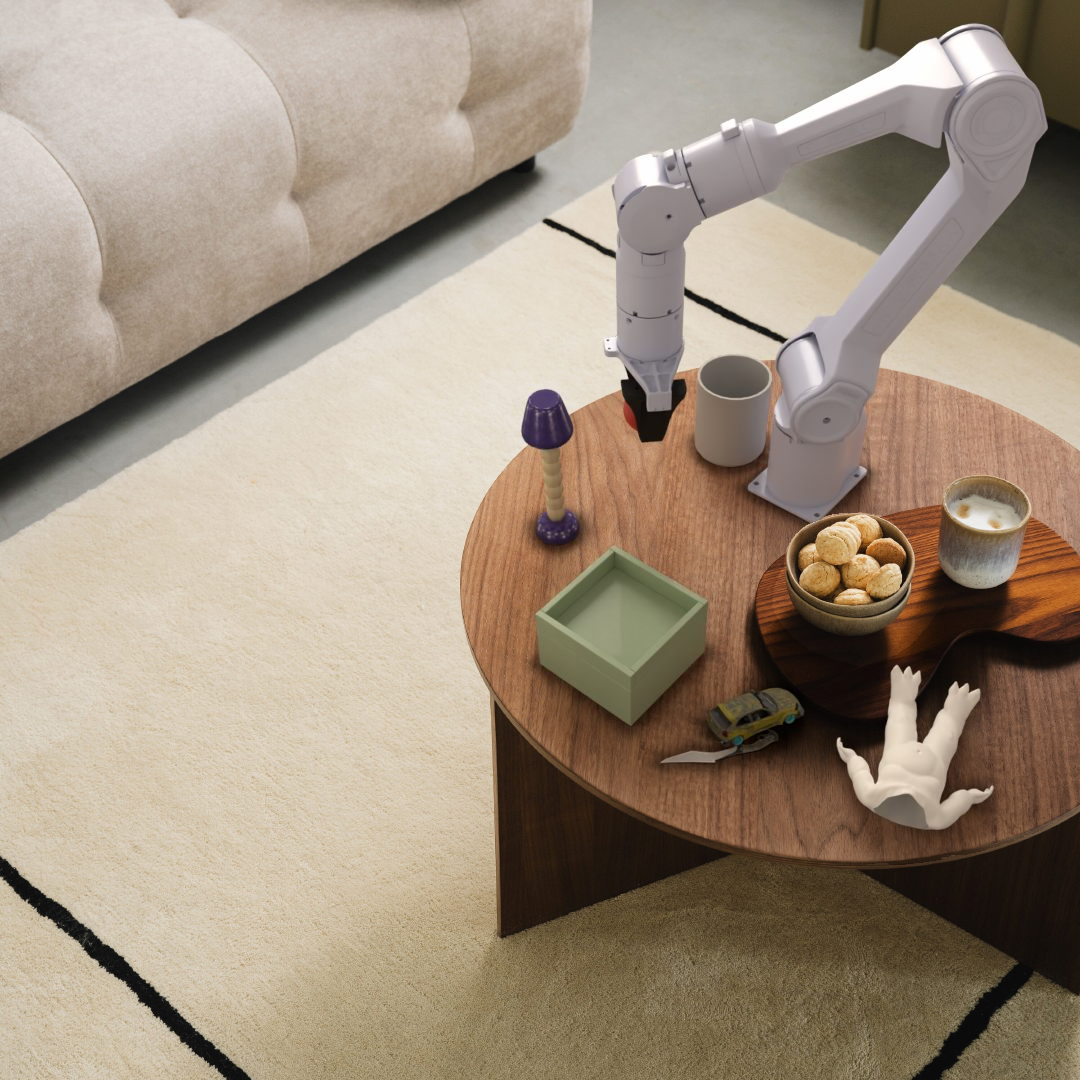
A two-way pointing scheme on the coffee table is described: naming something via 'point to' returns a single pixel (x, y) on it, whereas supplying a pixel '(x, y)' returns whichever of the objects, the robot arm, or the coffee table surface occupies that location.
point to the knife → (711, 757)
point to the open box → (622, 633)
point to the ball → (629, 416)
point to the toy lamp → (550, 462)
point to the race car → (752, 714)
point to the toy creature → (916, 760)
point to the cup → (732, 409)
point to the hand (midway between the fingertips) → (648, 421)
